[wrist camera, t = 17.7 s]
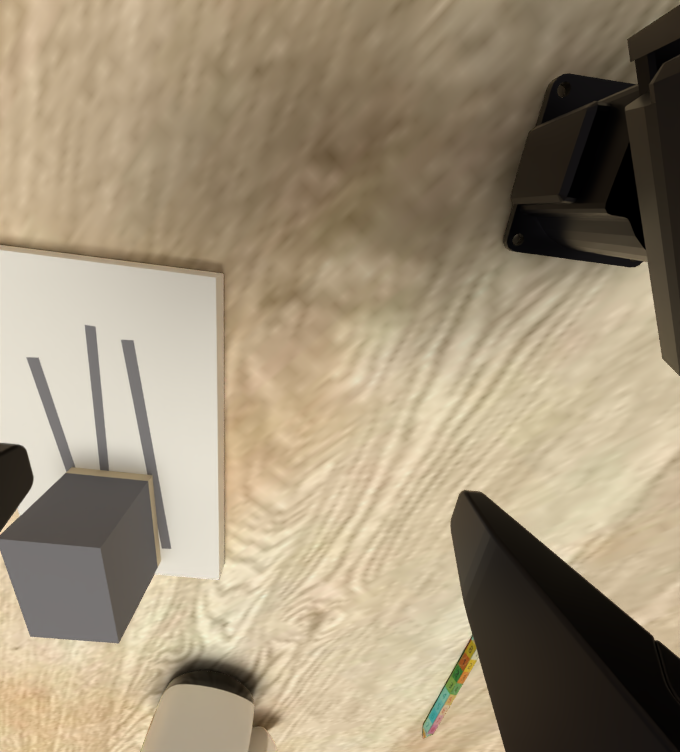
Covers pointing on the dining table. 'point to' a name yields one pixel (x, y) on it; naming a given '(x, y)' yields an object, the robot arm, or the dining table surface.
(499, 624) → the robot arm
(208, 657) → the dining table surface
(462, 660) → the pencil
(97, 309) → the board
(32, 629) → the block
